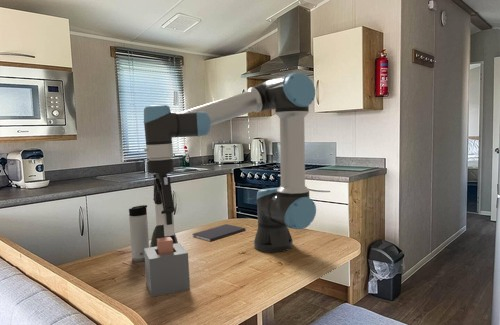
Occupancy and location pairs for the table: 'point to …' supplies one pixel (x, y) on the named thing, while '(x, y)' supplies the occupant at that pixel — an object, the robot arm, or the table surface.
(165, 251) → the peg
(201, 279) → the table surface
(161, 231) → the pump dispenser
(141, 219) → the travel mug
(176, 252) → the socket block
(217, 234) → the notebook
